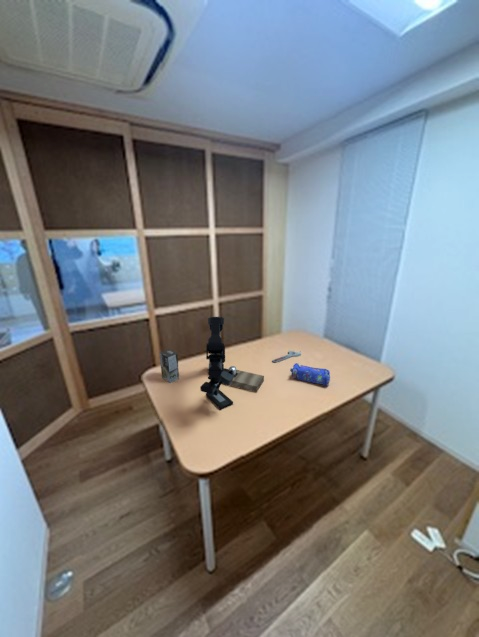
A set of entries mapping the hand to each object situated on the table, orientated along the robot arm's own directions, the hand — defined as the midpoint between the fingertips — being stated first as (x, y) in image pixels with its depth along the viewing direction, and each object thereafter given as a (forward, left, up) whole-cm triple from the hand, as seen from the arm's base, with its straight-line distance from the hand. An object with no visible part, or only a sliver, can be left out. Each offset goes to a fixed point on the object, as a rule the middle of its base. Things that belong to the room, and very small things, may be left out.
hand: (216, 395), depth 124 cm
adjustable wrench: (+19, +68, -8) cm, 71 cm away
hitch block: (+2, +26, -7) cm, 27 cm away
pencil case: (+38, +44, -7) cm, 58 cm away
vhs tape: (-1, +6, -8) cm, 10 cm away
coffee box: (-37, +13, -7) cm, 40 cm away
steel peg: (-3, +26, -7) cm, 27 cm away
